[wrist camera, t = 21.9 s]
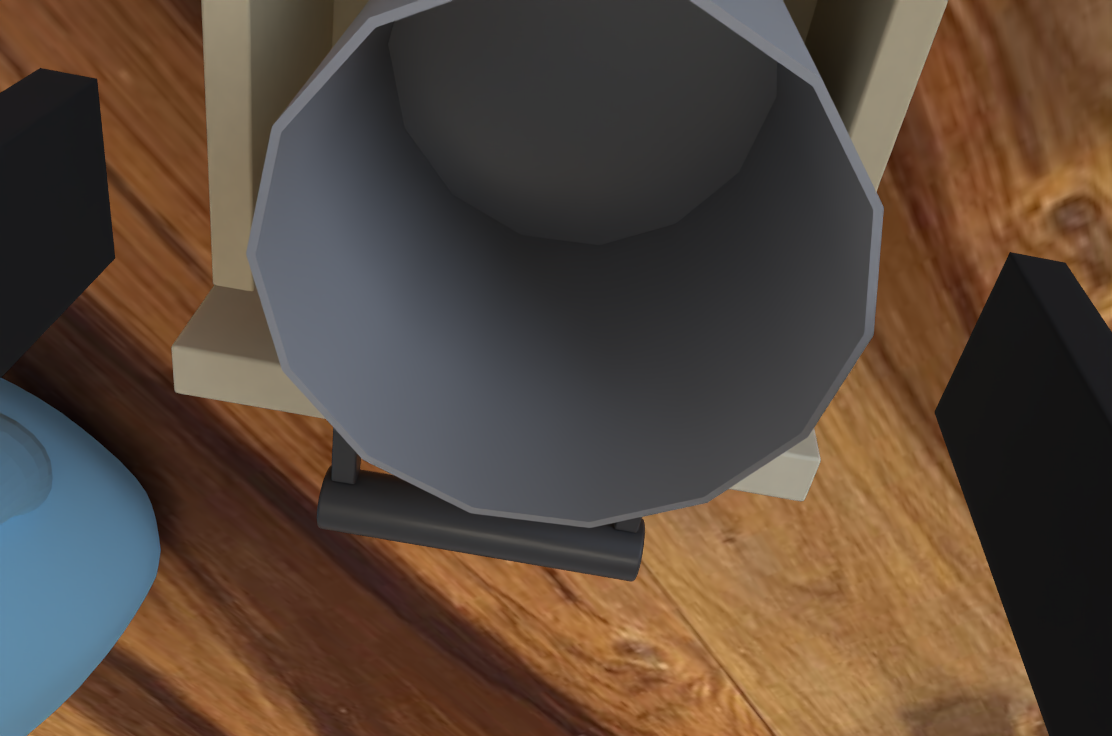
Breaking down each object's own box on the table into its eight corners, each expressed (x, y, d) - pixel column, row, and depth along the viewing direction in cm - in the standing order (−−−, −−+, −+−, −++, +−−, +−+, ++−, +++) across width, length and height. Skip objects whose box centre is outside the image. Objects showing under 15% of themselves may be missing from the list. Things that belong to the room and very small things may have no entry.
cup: (843, 128, 22) (973, 393, 14) (528, 291, 25) (484, 594, 17) (658, -254, 19) (689, -197, 10) (311, -12, 21) (116, 187, 13)
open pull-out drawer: (720, 477, 30) (736, 669, 24) (275, 400, 29) (186, 576, 24) (1024, -418, 18) (1199, -455, 12) (275, -570, 17) (94, -679, 12)
